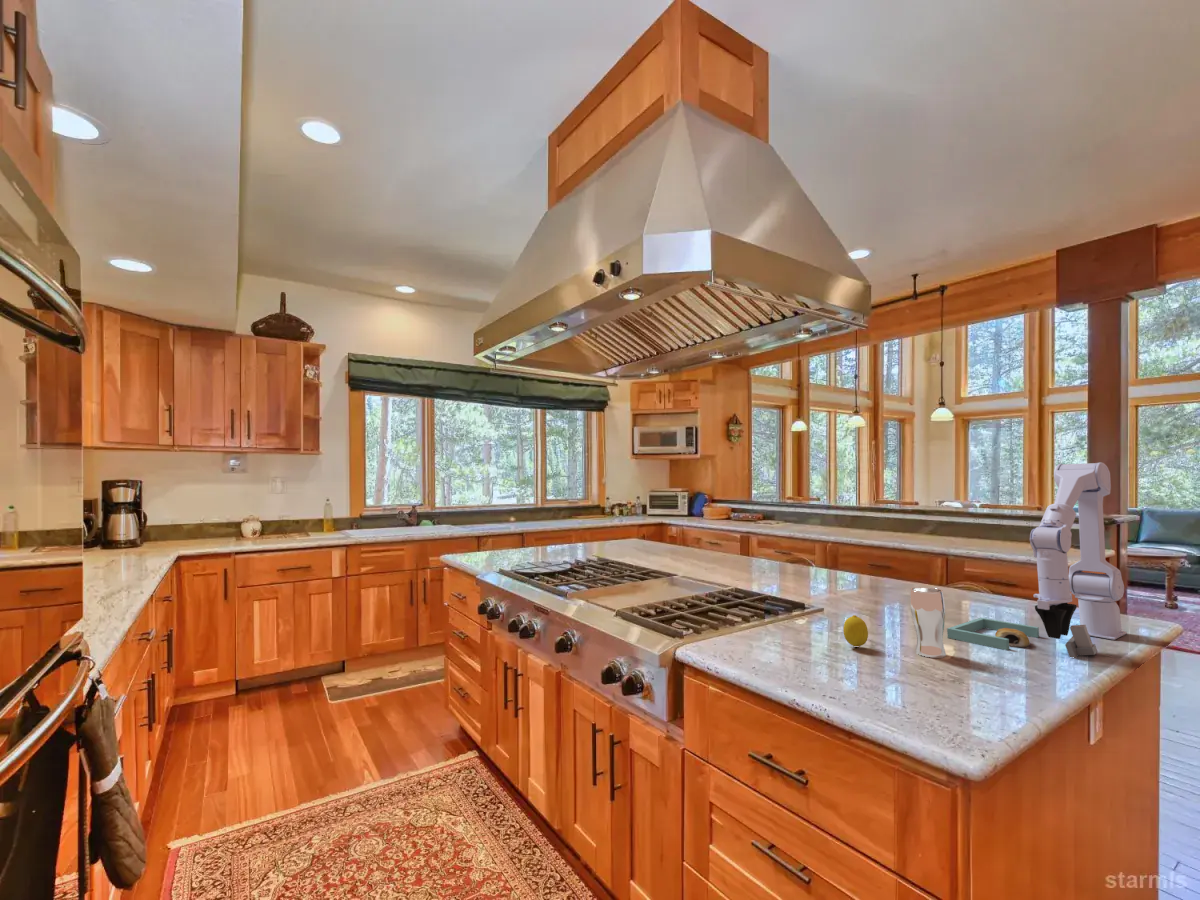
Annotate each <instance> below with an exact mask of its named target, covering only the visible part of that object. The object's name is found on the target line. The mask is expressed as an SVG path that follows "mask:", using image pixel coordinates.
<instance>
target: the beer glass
mask: <svg viewBox="0 0 1200 900" xmlns="http://www.w3.org/2000/svg"><path fill="white" fill-rule="evenodd" d="M943 592H944V591H943V590H942V589H940V588H936V587H930V586H929V587H928V586H927V587H926V586H918V587H917V586H916V587H911V588H910V612H911V618H912V621H913V624H914V625H913V626H914V630H915V633H916V646H915V654H916V655H918V654H919V655H918V656H920V655H922V656H921V657H924V656H925V658H929V657H930V659H943V658H946V656H947V655H946V654H947V653H946V649H945V647H944V637H943V636H944V630H945V629H944V628H945V622H946V606H945V598H944V593H943Z"/></svg>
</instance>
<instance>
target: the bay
mask: <svg viewBox="0 0 1200 900" xmlns="http://www.w3.org/2000/svg"><path fill="white" fill-rule="evenodd" d="M982 628H983V629H987V628H988V629H987V630H992V629H993V630H994V631H998V629H1003V628H1010V629H1016V630H1019V631H1022V632H1024V633H1025V635H1027V637H1032V638H1037V639H1038V638H1039V637H1040V627H1038V626H1033V625H1027V624H1022V623H1015V622H1009V621H1005V620H1003V621H1002V620H997V619H991V618H984V617H979V618H978V617H977V618H975V619H972V620H969V621H966V622H963V623H960V624H957V625H954V626H949V627H947V628H946V632H947V633H946V634H947V635H946V636H947V639H950V638H951V640H955V639H956V641H960V642H966V643H971V644H975V645H980V646H984V645H985V647H990V648H994V649H999V650H1004V651H1008V650H1010V646H1009V639H1006V638H1001V637H996V636H995V635H990V634H984V633H979V632H977V631H980V630H983V629H982ZM979 629H980V630H979Z"/></svg>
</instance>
